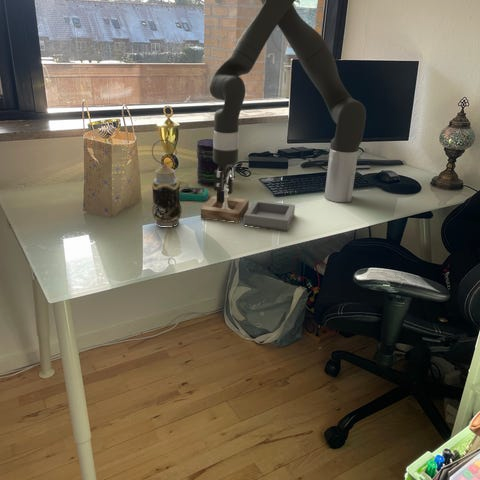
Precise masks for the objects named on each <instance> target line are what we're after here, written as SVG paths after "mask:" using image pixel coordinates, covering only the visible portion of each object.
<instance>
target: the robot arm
mask: <svg viewBox="0 0 480 480" xmlns="http://www.w3.org/2000/svg"><path fill="white" fill-rule="evenodd" d="M260 2H261V4H262V5H261V6H262V7H261V8H260V10H258V13H257V14H256V16H255V17H254V18H253V20H252V21H251V22H250V23H249V24H248V26H247V27H246V28H245V30H244V31H243V32H242V34H241V35H240V37H239V38H238V40H237V42H236V44H235V46H234V48H233V50H232V52H230V56H229V57H228V58H227V59H225V61H224V62H223V63H222V64H221V65H220V67H219V68H218V69H217V70H216V71H215V72H214V74H213V75H212V76H211V80H210V82H209V93H210V95H211V96H212V98H214V99H217V100H219V101H220V100H221V101H224V103H223V108H220V109H217V110H216V111H215V112H214V120H213V123H214V124H213V130H214V131H213V136H212V137H213V138H212V139H213V161H214V162H215V163H217V164H218V165H219V168H218V169H217V171H216V170H215V172H214V186H213V191H216V196H217V202H218V203H223V202H224V190H225V186H226V185H228V187H227V188H228V189H229V191H228V194H227V195H231V194H232V193H233V182H234V179H236V164H237V163H238V162H239V145H240V144H239V142H240V141H239V140H240V137H239V117H240V114H241V110H242V107H243V103H244V100H245V96H246V86H245V82H244V80H243V79H242V78H241V77H240V76H242V75H246V74H249V73H250V72H251V71H252V69H253V67H254V65H255V64H256V62H257V60H258V58H260V57H259V56H260V54H261V53H262V51H263V49H264V47H265V45H266V44H267V42H268V40H269V38H270V36H272V34H273V32H274V30H275V28H276V27H278V28H279V29H280V31H281V33H282V35H283V36H284V37H285V39H286V41H287V42H288V45H290V48H291V49H292V51H293V52H294V53H295V56H296V58H297V60H298V61H299V63H300V64H301V66H302V68H303V70H304V71H305V73H306V75H307V76H308V78H309V79H310V81H311V82H312V84H313V85H314V86H315V88H316V89H317V90H318V91H319V93H320V94H321V96H322V98H323V100H324V103H325V105H326V107H327V109H328V112H329V114H330V117H331V119H332V120H333V122H334V123H335V124H336V129H335V134H334V137H333V138H332V139H331V141H330V146H329V147H330V148H329V155H328V164H327V172H326V181H325V190H324V198H325V199H326V200H327V201H331V202H336V203H346V202H347V203H348V202H349V203H351V202H352V197H353V190H354V183H355V177H356V169H357V161H358V155H359V149H360V146H361V143H362V141H363V137H364V133H365V132H364V131H365V126H366V121H367V120H366V119H367V110H366V107H365V106H364V104H363V103H362V102H360V101H359V100H356V99H354V98H353V97H352V96H351V94H350V93H349V92H348V90H347V89H346V87H345V86H344V84H343V82H342V80H341V78H340V75H339V71H338V67H337V63H336V60H335V58H334V56H333V53H332V51H331V48H330V47H329V46H328V44H327V41H326V40H325V39H324V38H323V36H322V34H320V33H319V32H318V31H317V30H316V29H315V28H313V27H312V26H311V25H310V24H308V23H307V22H306V21H305V20H304V19H303V18H302V17H301V16H300V14H299V12H298V11H297V10H296V8H295V7H294V5H293V4H294V2H296V0H260ZM219 184H220V185H219Z"/></svg>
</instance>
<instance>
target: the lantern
mask: <svg viewBox="0 0 480 480" xmlns="http://www.w3.org/2000/svg"><path fill="white" fill-rule="evenodd" d="M164 141H165V142H169V144H171V145H172V146H173V147H174V150H175V155H174V157H173V158H172V160H171V161H169V162H161V161H158V160H157V158H155V155H154V151H153V150H154V147H155V145H156V144H157V143H159V142H164ZM151 155H152V157H153V159H154V160H155V161H156V162H157V163H159V164H162V166H160V167H159V168H158V169H157V168H156V170H155V174H156V178H154V179H153V180H151V188H152V208H151V213H152V217H153V219H154V220H155V223H156V224H158V225H160V226H174V225H176V224H179V220H180V219H181V216H182V214H183V213H182V212H183V210H182V204H181V200H180V197H179V189H180V187H181V184H180V182H179V180H178V178H176V177H175V174H174V173H175V172H176V171H175V169H173V168H171V167H170V166H169V165H168V164H170V163H172V162H174V161H175V159H176V157H177V149H176V146H175V145H174V143H173V142H172V141H170V140H167V139H160V140H158V141H156V142H155V143H154V144H153V145H152V148H151Z"/></svg>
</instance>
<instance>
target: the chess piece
mask: <svg viewBox="0 0 480 480" xmlns="http://www.w3.org/2000/svg"><path fill="white" fill-rule="evenodd" d="M227 187H228V185H226V186H225V190H224V202H223V209H229V208H228V203H227V198H230V196H229V194H228V191H229V189H228V188H227Z"/></svg>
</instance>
